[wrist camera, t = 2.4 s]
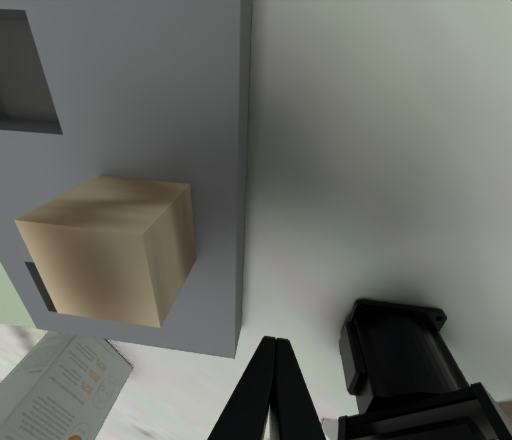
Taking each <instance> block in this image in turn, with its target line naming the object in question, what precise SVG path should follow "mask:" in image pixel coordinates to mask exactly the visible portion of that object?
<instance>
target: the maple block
mask: <svg viewBox="0 0 512 440" xmlns="http://www.w3.org/2000/svg"><path fill="white" fill-rule="evenodd" d="M14 221H15V223H16V225H17V227H18V229H19V231H20V234H21V236H22V238H23V240H24V242H25V244H26V246H27V248H28V251H29V253H30V255H31V257H32V259H33V261H34V263H35V265H36V268H37V270H38V272H39V274H40V276H41V278H42V280H43V282H44V285H45V287H46V289H47V291H48V293H49V295H50V297H51V299H52V302H53V304H54V306H55V308H56V310H57V312H58V313H61V314H68V315H75V316H82V317H89V318H96V319H102V320H109V321H116V322H123V323H130V324H137V325H144V326H151V327H157V328H161V326H162V324H163V322H164V320H165V319H166V317H167V315H168V313H169V311H170V309H171V307H172V305H173V303H174V301H175V300H176V298H177V296H178V294H179V292H180V290H181V288H182V286H183V284H184V282H185V281H186V279H187V277H188V275H189V273H190V271H191V269H192V267H193V265H194V263H195V262H196V248H195V235H194V222H193V210H192V197H191V184H185V183H175V182H165V181H154V180H144V179H133V178H123V177H113V176H102V175H100V176H99V177H97V178H95V179H93V180H91V181H89V182H87V183H85V184H83V185H81V186H79V187H77V188H75V189H73V190H71V191H69V192H67V193H66V194H64V195H62V196H60V197H58V198H56V199H54V200H52V201H50V202H48V203H46V204H44V205H42V206H40V207H38V208H36V209H34V210H33V211H31V212H29V213H27V214H25V215H23V216H21V217H19V218H17V219H15V220H14Z"/></svg>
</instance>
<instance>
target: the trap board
mask: <svg viewBox="0 0 512 440" xmlns="http://www.w3.org/2000/svg"><path fill="white" fill-rule="evenodd" d="M251 23H252V0H0V323H3V324H10V325H16V326H23V327H29V328H36V329H42V330H49V331H56V332H62V333H69V334H75V335H82V336H88V337H95V338H102V339H108V340H115V341H121V342H128V343H134V344H141V345H148V346H154V347H161V348H167V349H174V350H180V351H187V352H194V353H200V354H207V355H213V356H220V357H227V358H233V359H235V355H236V350H237V345H238V340H239V335H240V330H241V319H242V289H243V260H244V230H245V200H246V171H247V141H248V112H249V82H250V52H251ZM100 175H102V176H113V177H123V178H133V179H144V180H154V181H165V182H175V183H185V184H191V197H192V210H193V222H194V235H195V248H196V262H195V263H194V265H193V267H192V269H191V271H190V273H189V275H188V277H187V279H186V281H185V282H184V284H183V286H182V288H181V290H180V292H179V294H178V296H177V298H176V300H175V301H174V303H173V305H172V307H171V309H170V311H169V313H168V315H167V317H166V319H165V320H164V322H163V324H162V326H161V328H157V327H151V326H144V325H137V324H130V323H123V322H116V321H109V320H102V319H96V318H89V317H82V316H75V315H68V314H61V313H58V312H57V310H56V308H55V306H54V304H53V302H52V299H51V297H50V295H49V293H48V291H47V289H46V287H45V285H44V282H43V280H42V278H41V276H40V274H39V272H38V270H37V268H36V265H35V263H34V261H33V259H32V257H31V255H30V253H29V251H28V248H27V246H26V244H25V242H24V240H23V238H22V236H21V234H20V231H19V229H18V227H17V225H16V223H15V221H14V220H15V219H17V218H19V217H21V216H23V215H25V214H27V213H29V212H31V211H33V210H34V209H36V208H38V207H40V206H42V205H44V204H46V203H48V202H50V201H52V200H54V199H56V198H58V197H60V196H62V195H64V194H66V193H67V192H69V191H71V190H73V189H75V188H77V187H79V186H81V185H83V184H85V183H87V182H89V181H91V180H93V179H95V178H97V177H99V176H100Z"/></svg>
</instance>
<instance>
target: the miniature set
mask: <svg viewBox="0 0 512 440" xmlns="http://www.w3.org/2000/svg"><path fill="white" fill-rule="evenodd" d="M322 429H323V431H324V434H325V437H326V440H337V438H338V421H334V420H329V419H324V420H323V423H322Z"/></svg>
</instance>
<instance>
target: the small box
mask: <svg viewBox="0 0 512 440" xmlns="http://www.w3.org/2000/svg"><path fill="white" fill-rule="evenodd" d="M131 371H132V366H131V365H130V364H129V363H128V362H127V361H126V360H125V359H124V358H123V357H122V356H121V355H120V354H119V353H118V352H117V351H116V350H115V349H114V348H113V347H112V346H111V345H110V344H109V343H108V342H107V341H106V340H105V339H102V338H95V337H88V336H82V335H75V334H69V333H62V332H56V331H49V332H48V333H47V334H46V335H45V336H44V337H43V338H42V339H41V340H40V341H39V342H38V343H37V344H36V345H35V346H34V347H33V349H32V350H31V351H30V352H29V353H28V354H27V355H26V356H25V357H24V358H23V359H22V360H21V361H20V363H19V364H18V365H17V366H16V367H15V368H14V369H13V370H12V371H11V372H10V373H9V374H8V375H7V376H6V378H5V379H4V380H3V381H2V382H1V383H0V440H95V438H96V436H97V434H98V433H99V431H100V429H101V427H102V425H103V423H104V421H105V420H106V418H107V416H108V414H109V412H110V410H111V408H112V406H113V404H114V403H115V401H116V399H117V397H118V395H119V393H120V391H121V389H122V388H123V386H124V384H125V382H126V380H127V378H128V376H129V375H130V373H131Z"/></svg>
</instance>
